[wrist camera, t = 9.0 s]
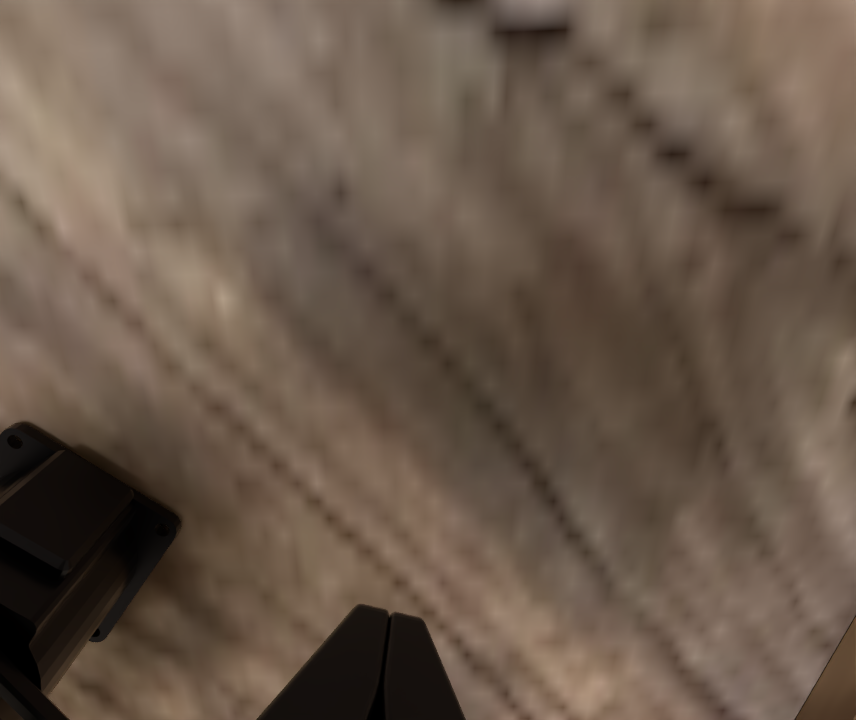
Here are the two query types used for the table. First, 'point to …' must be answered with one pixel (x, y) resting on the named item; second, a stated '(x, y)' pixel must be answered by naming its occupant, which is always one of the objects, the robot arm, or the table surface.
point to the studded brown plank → (835, 685)
